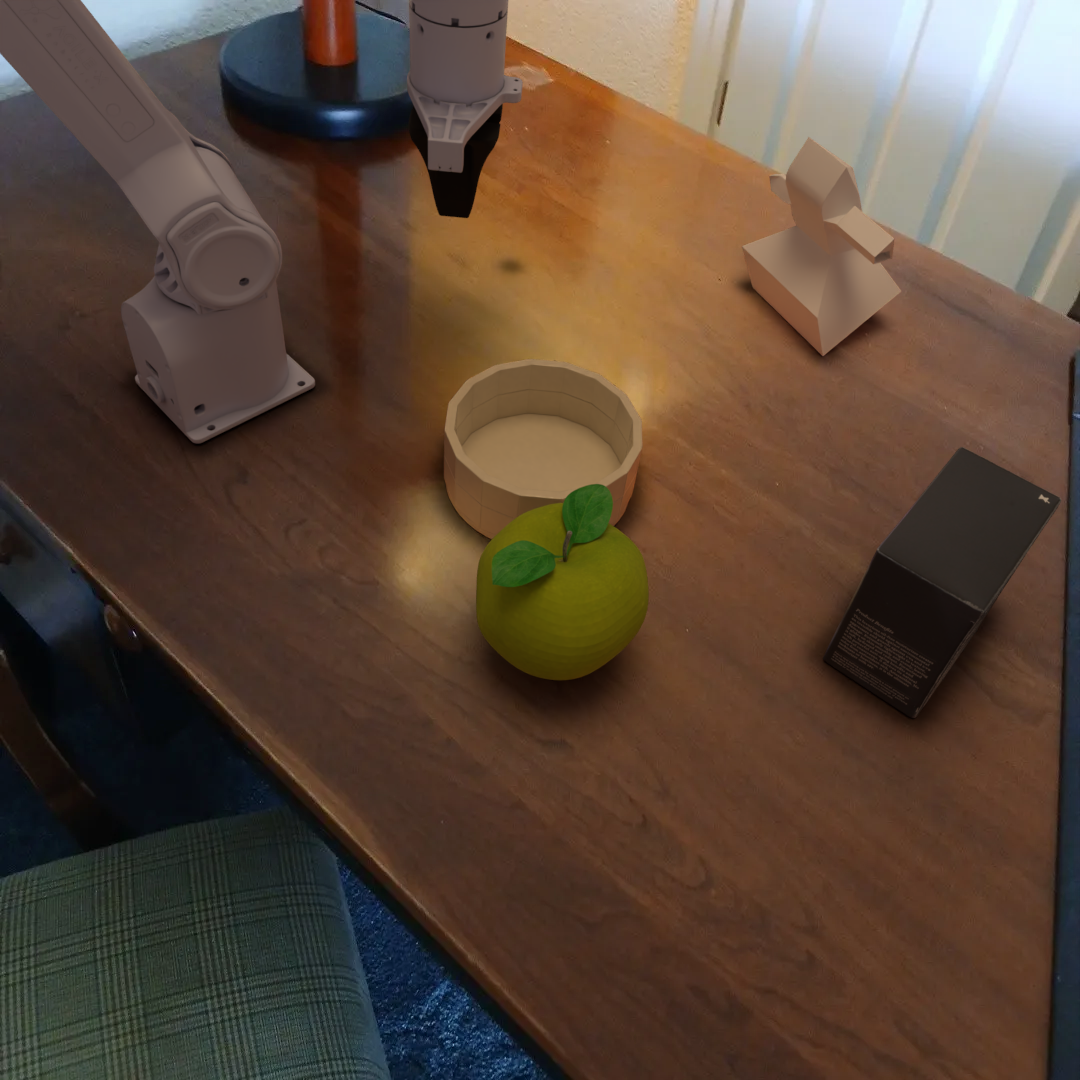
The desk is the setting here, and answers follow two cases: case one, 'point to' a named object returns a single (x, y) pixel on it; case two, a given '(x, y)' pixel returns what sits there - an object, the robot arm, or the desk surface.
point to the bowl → (537, 441)
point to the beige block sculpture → (822, 252)
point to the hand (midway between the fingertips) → (454, 211)
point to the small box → (937, 579)
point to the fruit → (562, 588)
